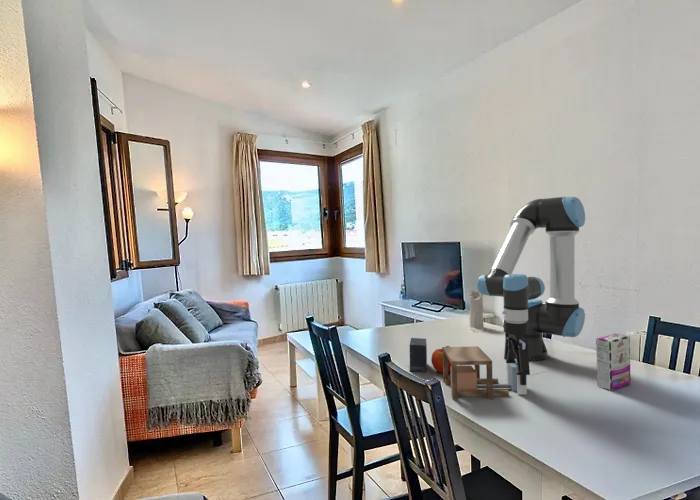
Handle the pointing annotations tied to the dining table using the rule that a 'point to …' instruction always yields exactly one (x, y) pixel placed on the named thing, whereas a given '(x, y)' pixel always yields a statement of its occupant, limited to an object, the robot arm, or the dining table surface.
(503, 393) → the shelf
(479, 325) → the beige paper bag
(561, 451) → the dining table surface
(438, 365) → the fruit
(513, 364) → the block barbell
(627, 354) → the candy bar box
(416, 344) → the small box
